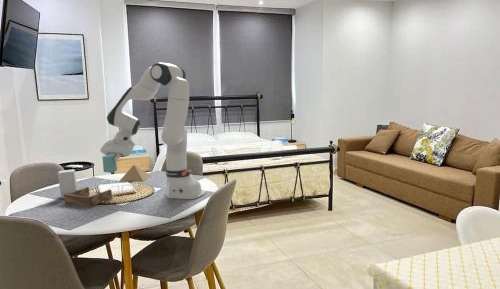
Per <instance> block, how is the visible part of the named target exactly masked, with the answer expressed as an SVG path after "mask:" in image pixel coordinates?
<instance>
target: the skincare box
mask: <svg viewBox="0 0 500 289" xmlns="http://www.w3.org/2000/svg"><path fill="white" fill-rule="evenodd" d="M57 178H58V184H59V191H60V197H61V199H64V194H67V193H70V192H73V191H76V190H79V189H78V182H77V177H76V170H75V169H73V168H72V169H67V170H66V169H65V170H59V171H58V172H57Z"/></svg>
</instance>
